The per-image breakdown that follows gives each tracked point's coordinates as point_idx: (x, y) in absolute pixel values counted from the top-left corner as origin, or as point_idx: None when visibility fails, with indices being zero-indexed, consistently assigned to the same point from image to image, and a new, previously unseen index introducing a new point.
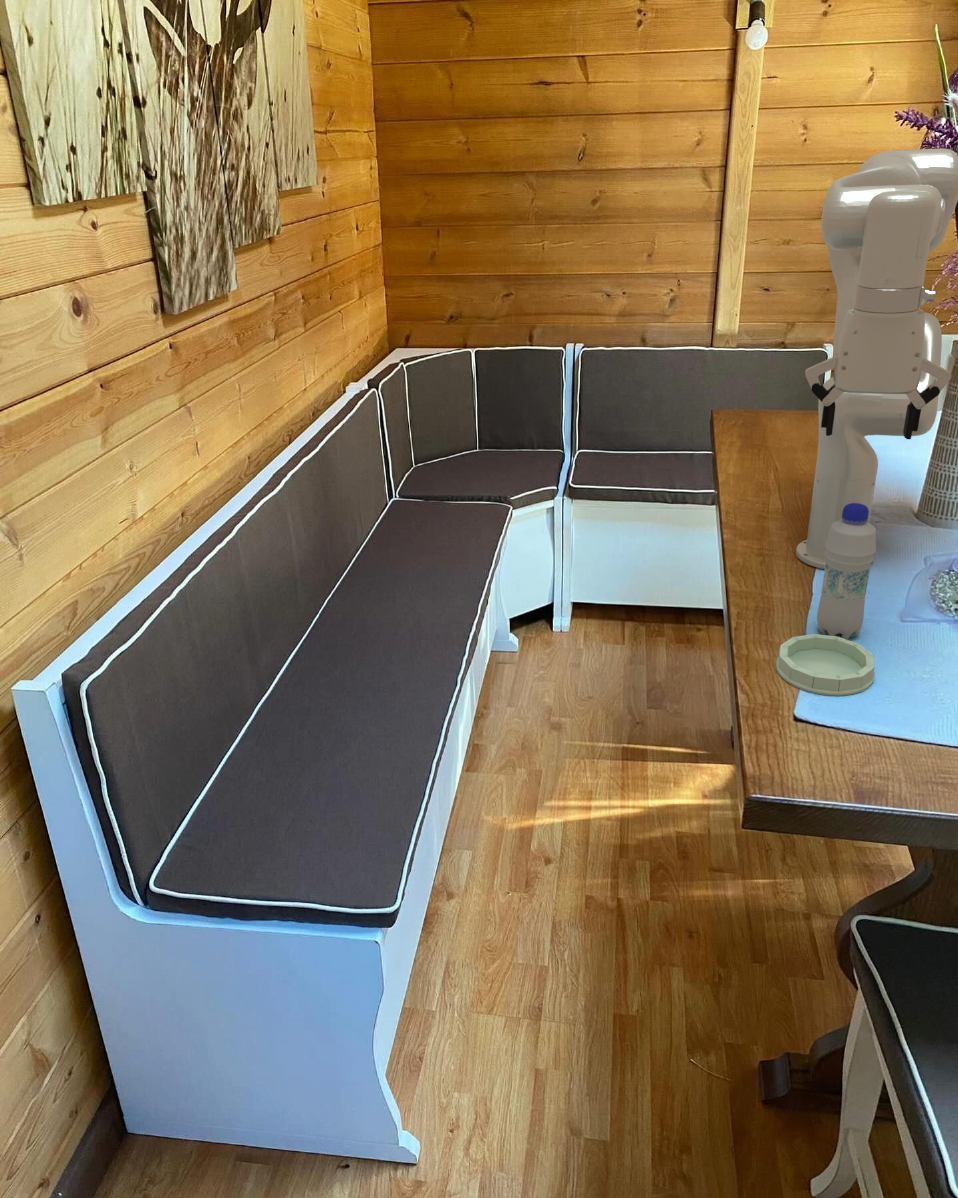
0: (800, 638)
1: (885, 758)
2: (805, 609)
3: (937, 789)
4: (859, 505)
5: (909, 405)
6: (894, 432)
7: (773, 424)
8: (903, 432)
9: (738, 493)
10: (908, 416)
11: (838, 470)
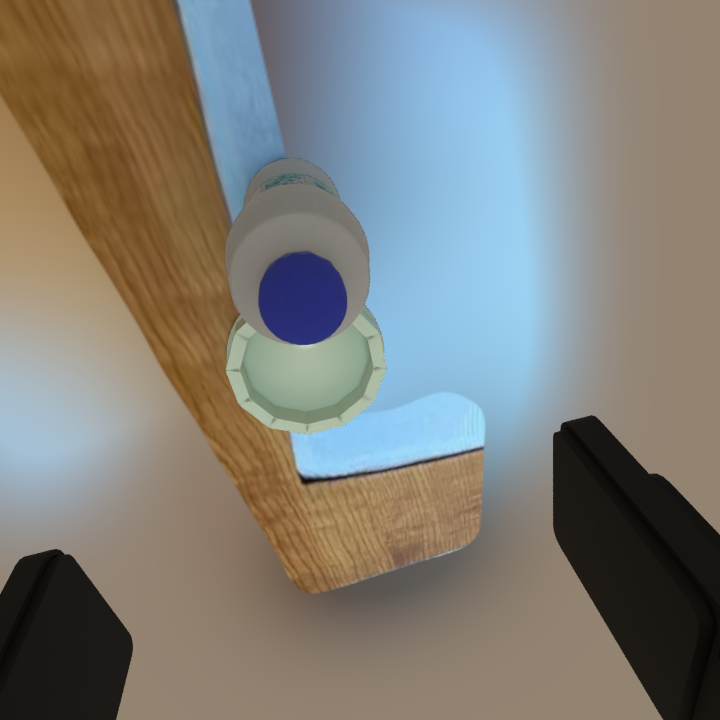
0: (249, 332)
1: (416, 498)
2: (196, 115)
3: (469, 518)
4: (315, 316)
5: (705, 649)
6: None
7: None
8: (555, 449)
9: None
10: (637, 670)
11: None
